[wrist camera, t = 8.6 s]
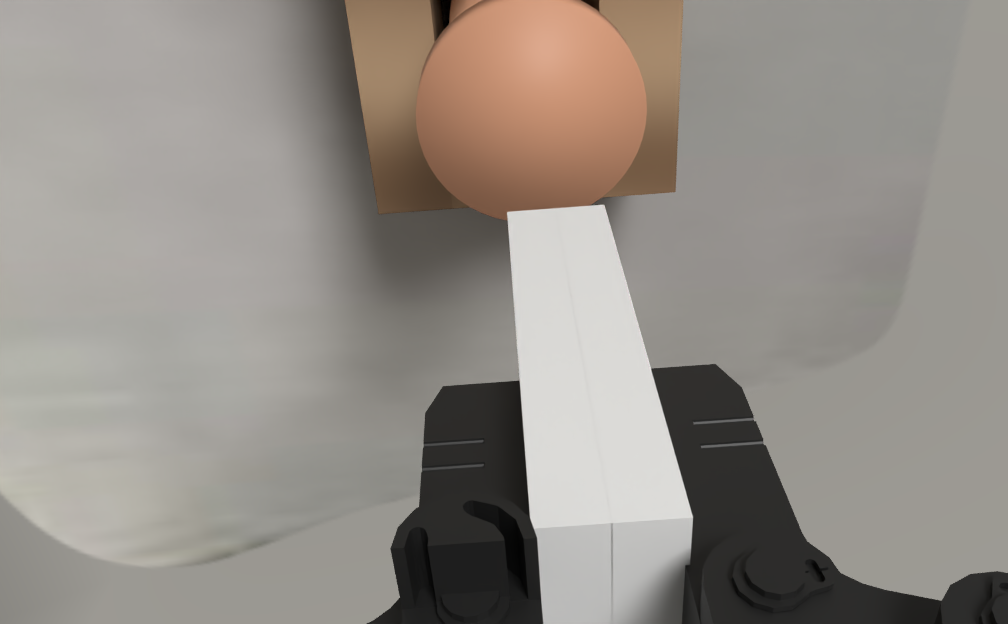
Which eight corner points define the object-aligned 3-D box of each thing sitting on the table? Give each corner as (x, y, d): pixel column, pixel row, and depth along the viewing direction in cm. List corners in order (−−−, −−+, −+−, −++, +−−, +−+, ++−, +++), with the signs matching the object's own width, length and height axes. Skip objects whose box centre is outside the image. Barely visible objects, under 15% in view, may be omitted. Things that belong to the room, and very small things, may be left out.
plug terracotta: (421, -70, 26) (401, 10, 19) (597, -84, 26) (649, -9, 19) (439, 101, 29) (429, 229, 22) (599, 88, 29) (644, 213, 22)
